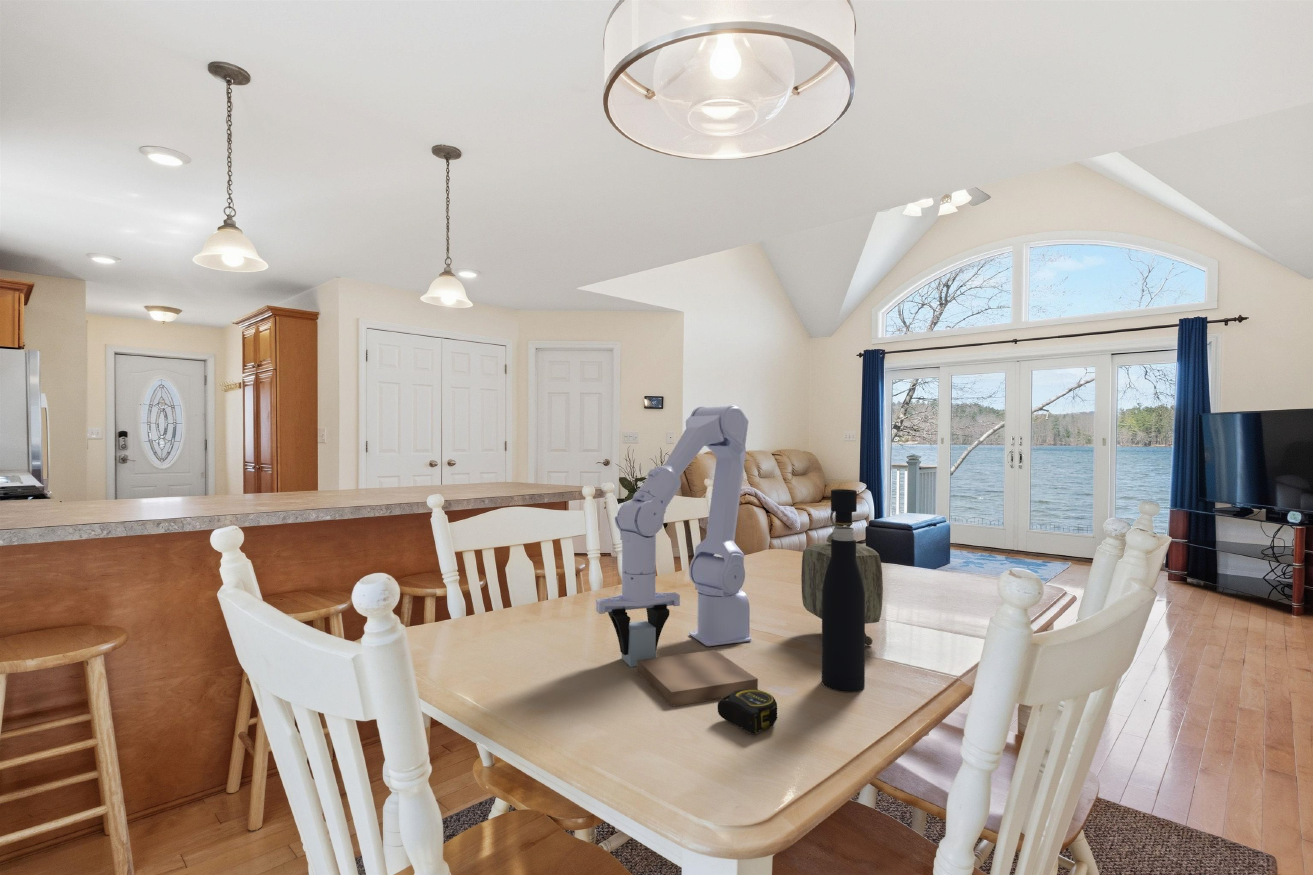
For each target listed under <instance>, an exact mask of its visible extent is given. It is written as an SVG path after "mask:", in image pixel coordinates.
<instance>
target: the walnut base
mask: <svg viewBox="0 0 1313 875" xmlns="http://www.w3.org/2000/svg"><path fill="white" fill-rule="evenodd" d="M636 667H637V674H638V675H639V676H641V678H642V679H643V680H644V681H646V683H647V684H648V685H649V686H650V687H651V688H653V690H654V691H655V692H657V693H658V695H659V696H660V697H661V698H662V699H663V700H664V701H665V702H666V703H667V704H669V705H670V706H671V707H676V706H681V705H683V706H684V705H689V704H693V703H701V702H707V701H712V700H718V699H720V700H721V699H722V698H724V697H726V696H728V695H730V694H731V693H733V692H734V691H737V690H742V689H756V690H759V688H758V687H759V685H758V684H759V680H758V679H759V678H757V677H755V676H754V675H753V674H752V673H750V672H748V671H747V670H746V669H744V668H742V667H741V666H739V665H738V664H736V663H735V662H733V661H732V660H730V659H729V658H727V657H726V656H725V655H723V654H722V653H720V652H718V651H717V650H716V649H711V650H705V651H702V650H701V651H695V652H689V653H681V654H673V655H666V656H659V657H658V656H657V657H656V658H649V659H642V660H637V666H636Z"/></svg>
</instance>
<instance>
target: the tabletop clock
mask: <svg viewBox="0 0 1313 875" xmlns="http://www.w3.org/2000/svg"><path fill="white" fill-rule="evenodd" d="M834 513H835V512H834V511H831V510H830V513H829V514H830V515H829V519H830V522H831V524H832V526H833V527H851V526H852V525H850V526H841V525H836V524H835V521H834V518H833V517H834ZM833 534H834V532H833V531H832V532H831V533H829V535H828V536H827V538H826V542H822V543H821V542H820V543H812V544H810V545H809V546H807V547H806V548H804V549H803V552H802V557H801V577H800V580H801V581H800V582H801V598H802V600H801V601H802V605H803V607H804V608H805V610H807V612H809V613H811V614H813V615H814V616H815V617H817V618H819V619H821V620H822V588H823V582H824V577H825V573H826V570H827V567H828V564H829V561H830V558H831V540H832V539H834V537H833ZM856 559H857V562H858V565H859V568H860V571H861V574H862V579H863V583H864V590H865V625H867V624H876V623H879V622H880V619H881V616H882V611H883V599H884V598H883V596H884V595H883V593H884V584H883V583H884V582H883V568H882V566H883V565H882V561H881V557H880V554H879V553H878V552H877V551H876V550H875V549H873V548H871V547H869V546H867V545H864V544H862V543H859V542H858V543H857V542H856ZM872 644H873V638H872V637H871V636H868V635H867V634H866V633H865V646H871V645H872Z"/></svg>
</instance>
